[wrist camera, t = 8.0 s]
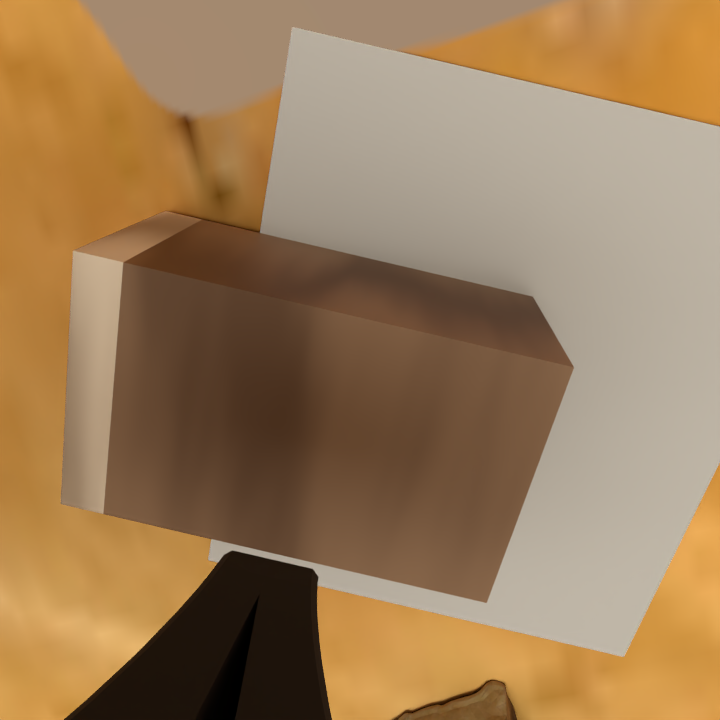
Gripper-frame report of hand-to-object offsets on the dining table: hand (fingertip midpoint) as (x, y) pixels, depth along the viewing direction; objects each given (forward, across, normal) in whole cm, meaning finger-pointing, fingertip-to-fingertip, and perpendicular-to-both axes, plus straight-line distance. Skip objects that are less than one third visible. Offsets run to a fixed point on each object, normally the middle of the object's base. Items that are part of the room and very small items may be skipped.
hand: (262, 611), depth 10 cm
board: (+10, -4, 0) cm, 11 cm away
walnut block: (+7, +5, 0) cm, 9 cm away
